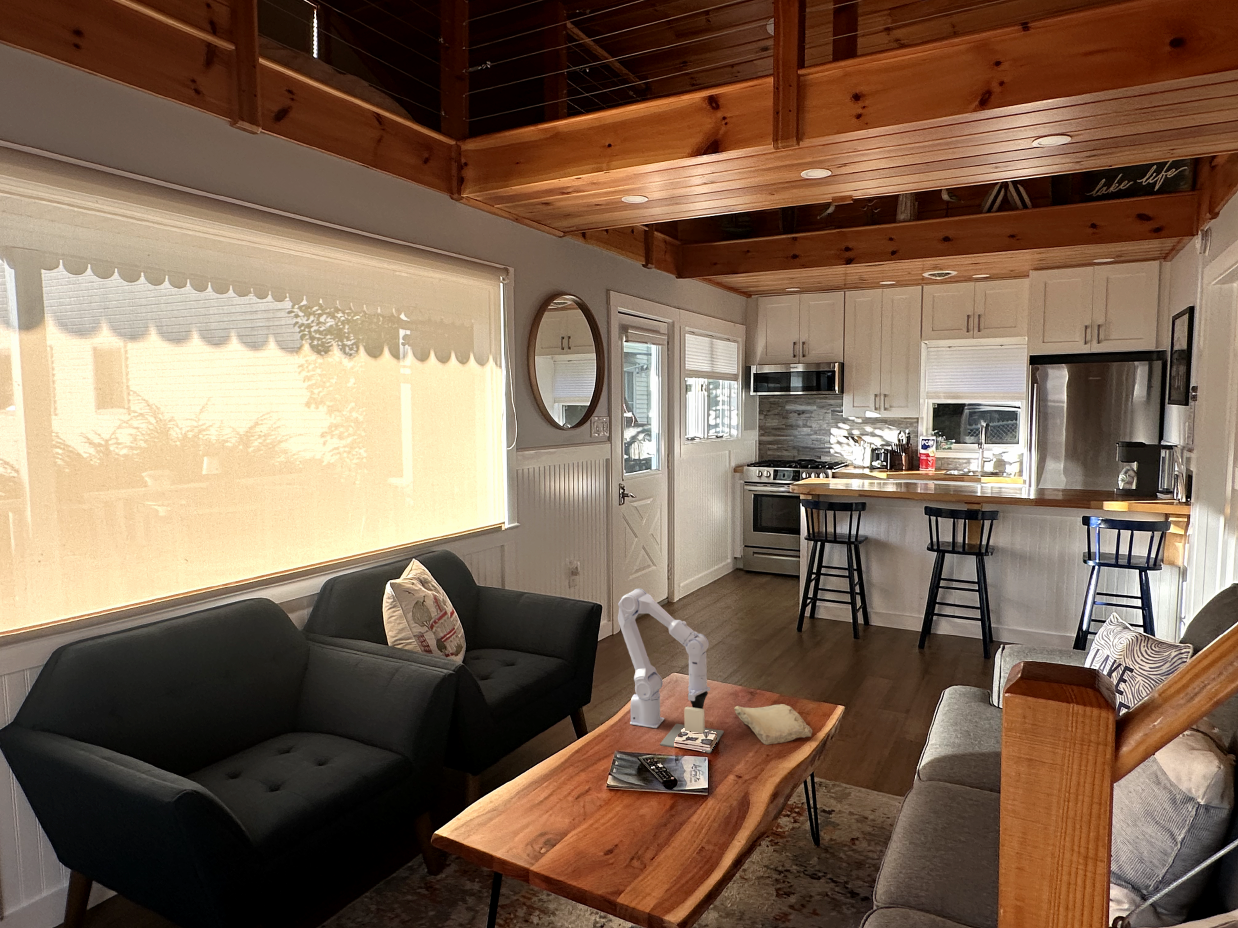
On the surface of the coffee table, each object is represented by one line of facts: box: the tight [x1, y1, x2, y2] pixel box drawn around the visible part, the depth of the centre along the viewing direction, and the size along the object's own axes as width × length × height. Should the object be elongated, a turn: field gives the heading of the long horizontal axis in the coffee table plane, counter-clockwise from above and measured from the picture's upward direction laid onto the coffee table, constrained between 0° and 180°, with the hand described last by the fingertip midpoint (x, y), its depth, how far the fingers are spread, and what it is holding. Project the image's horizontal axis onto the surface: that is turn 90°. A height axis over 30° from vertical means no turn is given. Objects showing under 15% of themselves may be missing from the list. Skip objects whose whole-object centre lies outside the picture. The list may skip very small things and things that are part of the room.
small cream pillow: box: [733, 703, 813, 746], centre depth 254 cm, size 24×8×20 cm
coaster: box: [683, 706, 706, 733], centre depth 249 cm, size 6×2×8 cm, turn 68°
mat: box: [659, 723, 725, 754], centre depth 246 cm, size 16×16×1 cm
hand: (698, 714), depth 252 cm, fingers closed
